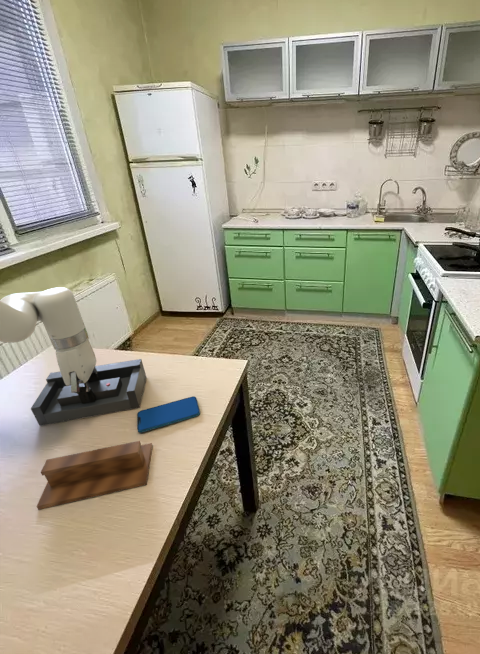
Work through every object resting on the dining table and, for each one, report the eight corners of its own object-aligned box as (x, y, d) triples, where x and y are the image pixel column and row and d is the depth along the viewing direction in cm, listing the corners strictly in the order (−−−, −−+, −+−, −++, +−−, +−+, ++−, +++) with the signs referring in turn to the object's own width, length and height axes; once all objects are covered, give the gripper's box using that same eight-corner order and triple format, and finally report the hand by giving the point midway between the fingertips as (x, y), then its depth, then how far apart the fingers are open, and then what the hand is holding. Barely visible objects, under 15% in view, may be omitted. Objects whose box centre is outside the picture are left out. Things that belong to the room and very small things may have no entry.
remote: (60, 406, 83) (56, 398, 82) (67, 393, 88) (63, 385, 87) (118, 396, 86) (115, 388, 85) (122, 384, 91) (119, 376, 89)
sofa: (39, 426, 82) (28, 405, 79) (58, 392, 93) (50, 372, 90) (139, 407, 87) (133, 387, 84) (146, 377, 98) (141, 358, 95)
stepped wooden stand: (38, 509, 63) (26, 490, 60) (57, 465, 72) (48, 446, 69) (146, 484, 67) (139, 465, 64) (152, 445, 76) (147, 427, 73)
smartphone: (200, 413, 83) (137, 431, 78) (200, 416, 84) (138, 434, 78) (195, 395, 89) (137, 411, 84) (196, 398, 90) (137, 414, 85)
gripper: (65, 323, 85) (86, 377, 94) (37, 360, 71) (65, 421, 79) (96, 319, 87) (114, 372, 95) (75, 354, 72) (98, 414, 80)
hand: (92, 394), depth 87 cm, fingers closed on remote, 5 cm apart
